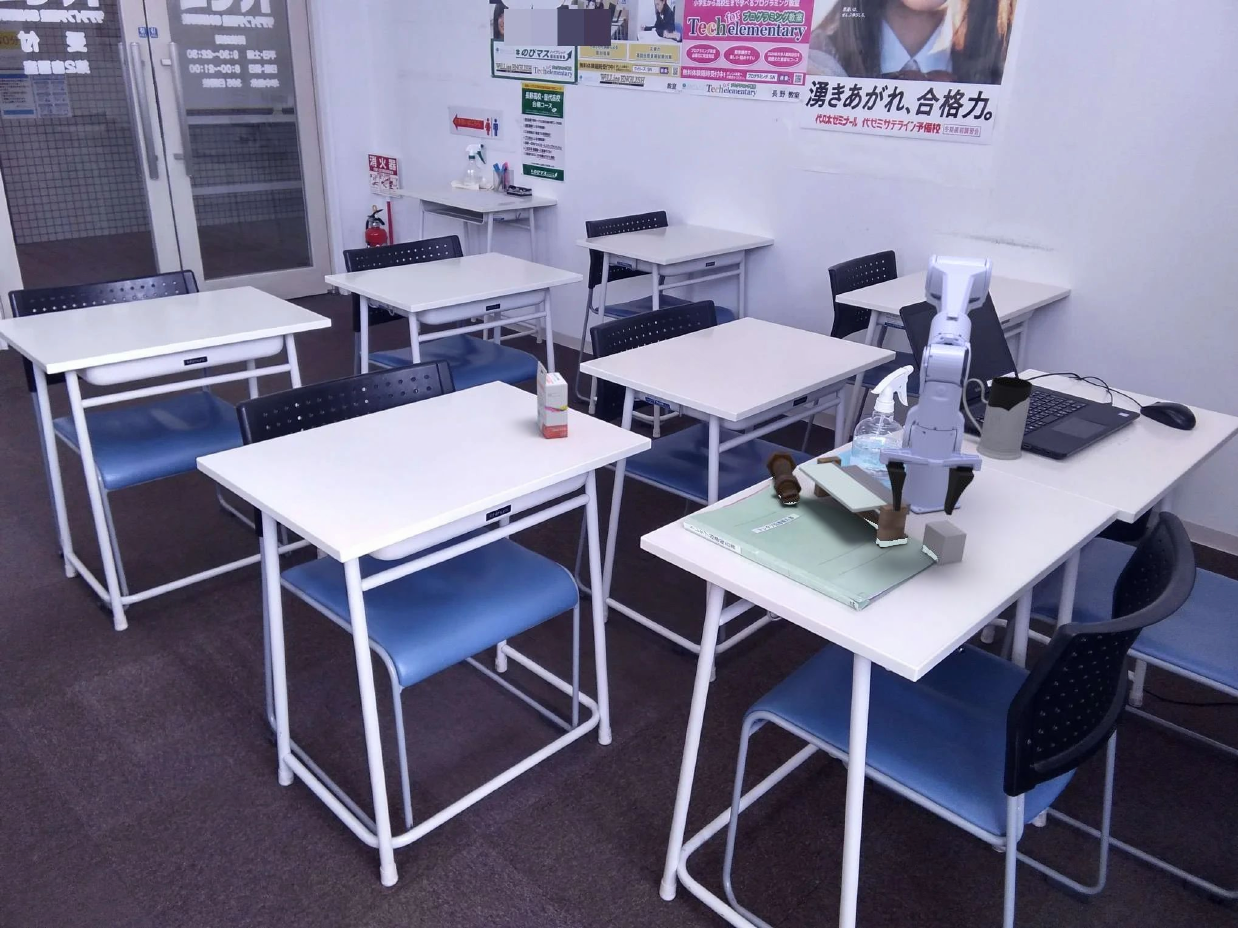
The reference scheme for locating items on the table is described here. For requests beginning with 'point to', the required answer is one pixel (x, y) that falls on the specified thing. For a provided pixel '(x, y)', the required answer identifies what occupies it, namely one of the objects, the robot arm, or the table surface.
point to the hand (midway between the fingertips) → (921, 510)
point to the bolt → (784, 476)
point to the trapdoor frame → (888, 518)
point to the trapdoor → (851, 486)
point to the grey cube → (945, 541)
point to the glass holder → (1003, 417)
